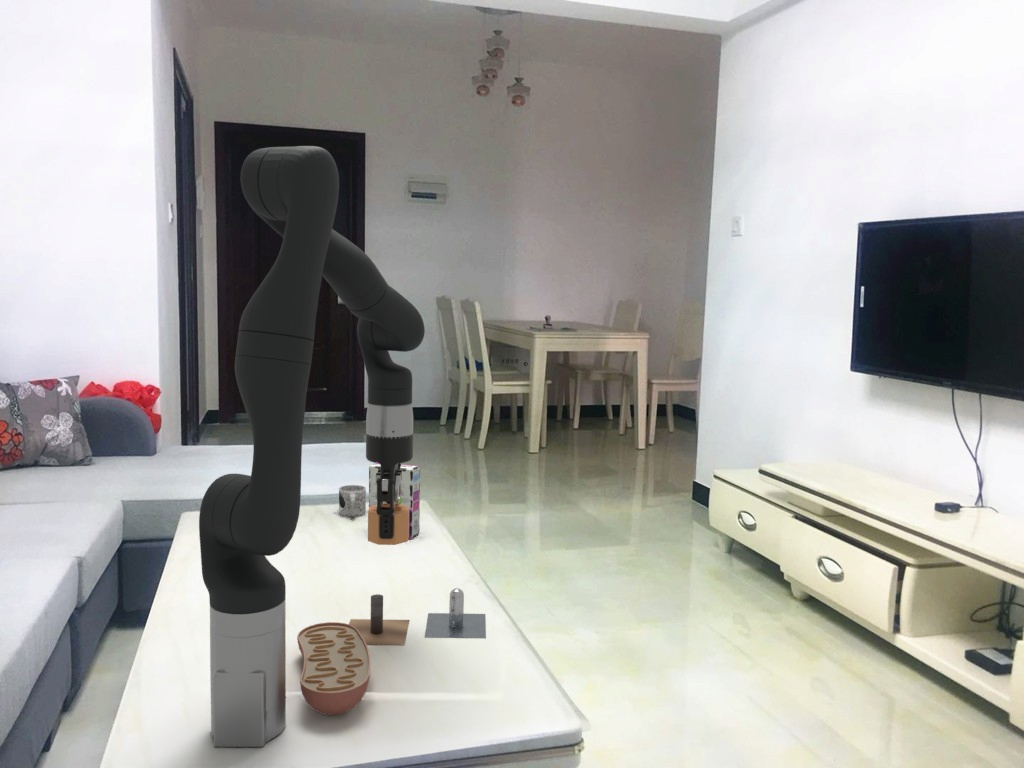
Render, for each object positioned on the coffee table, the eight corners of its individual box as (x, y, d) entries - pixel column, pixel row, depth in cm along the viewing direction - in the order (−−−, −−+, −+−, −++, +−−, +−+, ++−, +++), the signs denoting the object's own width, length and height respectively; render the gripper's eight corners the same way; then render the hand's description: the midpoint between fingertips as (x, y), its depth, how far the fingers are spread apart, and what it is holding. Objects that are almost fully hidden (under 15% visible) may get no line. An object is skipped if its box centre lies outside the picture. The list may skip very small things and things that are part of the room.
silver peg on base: (485, 644, 132) (487, 600, 132) (424, 643, 132) (425, 599, 131) (485, 619, 142) (486, 578, 141) (428, 618, 142) (428, 577, 141)
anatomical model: (296, 655, 127) (296, 624, 126) (360, 649, 130) (360, 619, 129) (301, 732, 105) (301, 695, 104) (378, 723, 108) (378, 687, 107)
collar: (406, 545, 129) (407, 514, 129) (366, 544, 129) (366, 514, 128) (409, 532, 136) (410, 503, 135) (371, 532, 135) (371, 503, 135)
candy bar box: (420, 533, 191) (421, 465, 189) (411, 539, 186) (412, 469, 184) (377, 528, 194) (377, 461, 192) (367, 534, 189) (368, 465, 187)
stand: (404, 651, 129) (404, 608, 128) (340, 650, 128) (341, 608, 128) (409, 625, 139) (410, 586, 138) (350, 624, 138) (351, 585, 138)
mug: (338, 510, 209) (339, 485, 208) (365, 509, 210) (365, 484, 209) (338, 521, 199) (339, 495, 198) (366, 520, 200) (366, 494, 199)
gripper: (409, 439, 123) (408, 546, 125) (416, 423, 138) (414, 519, 140) (360, 438, 123) (359, 545, 125) (371, 422, 137) (370, 518, 139)
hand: (388, 531), depth 132 cm, fingers closed on collar, 6 cm apart
